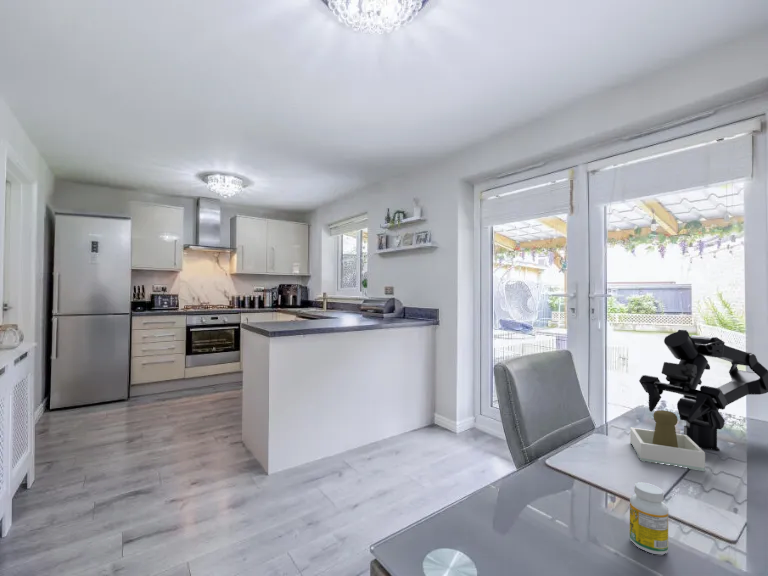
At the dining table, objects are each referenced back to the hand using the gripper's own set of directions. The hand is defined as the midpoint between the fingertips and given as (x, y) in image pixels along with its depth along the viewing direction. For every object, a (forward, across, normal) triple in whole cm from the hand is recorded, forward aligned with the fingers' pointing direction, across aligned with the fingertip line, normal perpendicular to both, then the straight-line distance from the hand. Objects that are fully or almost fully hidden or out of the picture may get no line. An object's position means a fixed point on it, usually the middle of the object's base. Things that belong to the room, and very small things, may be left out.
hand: (668, 415), depth 101 cm
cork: (+8, 0, +6) cm, 10 cm away
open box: (+9, 0, +6) cm, 11 cm away
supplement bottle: (+40, +18, -25) cm, 51 cm away
